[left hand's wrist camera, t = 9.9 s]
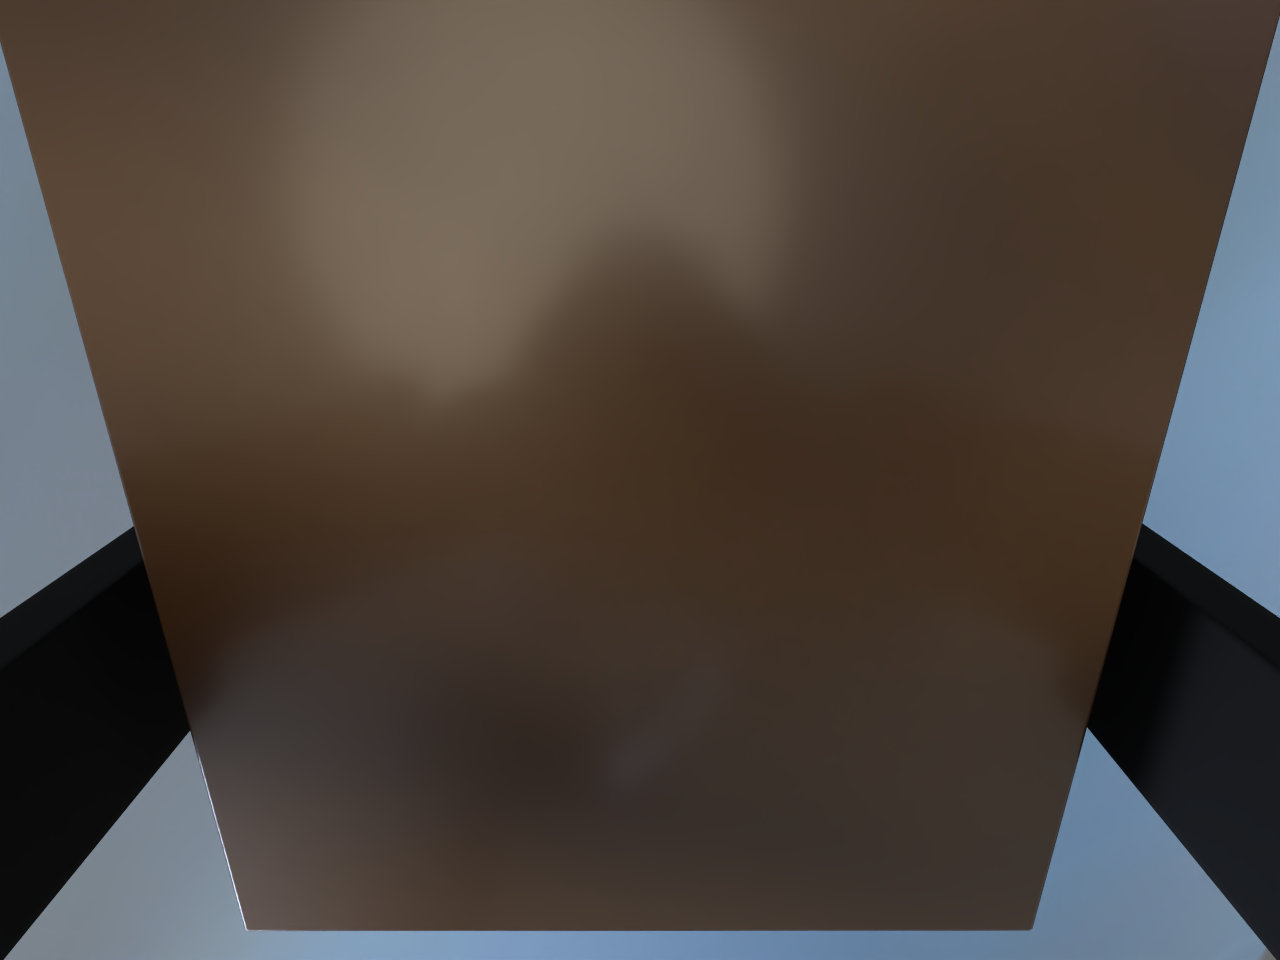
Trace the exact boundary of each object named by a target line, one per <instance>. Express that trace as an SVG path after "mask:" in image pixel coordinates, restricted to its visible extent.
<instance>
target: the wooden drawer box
mask: <svg viewBox="0 0 1280 960" xmlns="http://www.w3.org/2000/svg"><path fill="white" fill-rule="evenodd" d="M1279 16H1280V0H0V43H1V46H2V50H3V53H4V57H5V61H6V64H7V68H8V72H9V75H10V79H11V82H12V86H13V90H14V93H15V97H16V101H17V104H18V108H19V111H20V115H21V119H22V122H23V126H24V129H25V133H26V137H27V140H28V144H29V148H30V151H31V155H32V158H33V162H34V166H35V169H36V173H37V177H38V180H39V184H40V187H41V191H42V195H43V198H44V202H45V206H46V209H47V213H48V216H49V220H50V224H51V227H52V231H53V235H54V238H55V242H56V245H57V249H58V253H59V256H60V260H61V264H62V267H63V271H64V274H65V278H66V282H67V285H68V289H69V293H70V296H71V300H72V303H73V307H74V311H75V314H76V318H77V322H78V325H79V329H80V332H81V336H82V340H83V343H84V347H85V351H86V354H87V358H88V361H89V365H90V369H91V372H92V376H93V380H94V383H95V387H96V390H97V394H98V398H99V401H100V405H101V409H102V412H103V416H104V419H105V423H106V427H107V430H108V434H109V437H110V441H111V445H112V448H113V452H114V456H115V459H116V463H117V466H118V470H119V474H120V477H121V481H122V485H123V488H124V492H125V495H126V499H127V503H128V506H129V510H130V514H131V517H132V521H133V524H134V528H135V532H136V535H137V539H138V543H139V546H140V550H141V553H142V557H143V561H144V564H145V568H146V572H147V575H148V579H149V582H150V586H151V590H152V593H153V597H154V601H155V604H156V608H157V611H158V615H159V619H160V622H161V626H162V630H163V633H164V637H165V640H166V644H167V648H168V651H169V655H170V659H171V662H172V666H173V669H174V673H175V677H176V680H177V684H178V688H179V691H180V695H181V698H182V702H183V706H184V709H185V713H186V716H187V720H188V724H189V727H190V731H191V735H192V738H193V742H194V745H195V749H196V753H197V756H198V760H199V764H200V767H201V771H202V774H203V778H204V782H205V785H206V789H207V793H208V796H209V800H210V803H211V807H212V811H213V814H214V818H215V822H216V825H217V829H218V832H219V836H220V840H221V843H222V847H223V851H224V854H225V858H226V861H227V865H228V869H229V872H230V876H231V880H232V883H233V887H234V890H235V894H236V898H237V901H238V905H239V909H240V912H241V916H242V919H243V923H244V927H245V929H246V930H248V931H1000V930H1031V929H1032V928H1033V924H1034V920H1035V917H1036V913H1037V909H1038V906H1039V902H1040V898H1041V895H1042V891H1043V887H1044V883H1045V880H1046V876H1047V872H1048V869H1049V865H1050V861H1051V858H1052V854H1053V850H1054V847H1055V843H1056V839H1057V836H1058V832H1059V828H1060V824H1061V821H1062V817H1063V813H1064V810H1065V806H1066V802H1067V799H1068V795H1069V791H1070V788H1071V784H1072V780H1073V776H1074V773H1075V769H1076V765H1077V762H1078V758H1079V754H1080V751H1081V747H1082V743H1083V740H1084V736H1085V732H1086V729H1087V725H1088V721H1089V717H1090V714H1091V710H1092V706H1093V703H1094V699H1095V695H1096V692H1097V688H1098V684H1099V681H1100V677H1101V673H1102V669H1103V666H1104V662H1105V658H1106V655H1107V651H1108V647H1109V644H1110V640H1111V636H1112V633H1113V629H1114V625H1115V622H1116V618H1117V614H1118V610H1119V607H1120V603H1121V599H1122V596H1123V592H1124V588H1125V585H1126V581H1127V577H1128V574H1129V570H1130V566H1131V562H1132V559H1133V555H1134V551H1135V548H1136V544H1137V540H1138V537H1139V533H1140V529H1141V526H1142V522H1143V518H1144V515H1145V511H1146V507H1147V503H1148V500H1149V496H1150V492H1151V489H1152V485H1153V481H1154V478H1155V474H1156V470H1157V467H1158V463H1159V459H1160V455H1161V452H1162V448H1163V444H1164V441H1165V437H1166V433H1167V430H1168V426H1169V422H1170V419H1171V415H1172V411H1173V408H1174V404H1175V400H1176V396H1177V393H1178V389H1179V385H1180V382H1181V378H1182V374H1183V371H1184V367H1185V363H1186V360H1187V356H1188V352H1189V348H1190V345H1191V341H1192V337H1193V334H1194V330H1195V326H1196V323H1197V319H1198V315H1199V312H1200V308H1201V304H1202V301H1203V297H1204V293H1205V289H1206V286H1207V282H1208V278H1209V275H1210V271H1211V267H1212V264H1213V260H1214V256H1215V253H1216V249H1217V245H1218V241H1219V238H1220V234H1221V230H1222V227H1223V223H1224V219H1225V216H1226V212H1227V208H1228V205H1229V201H1230V197H1231V194H1232V190H1233V186H1234V182H1235V179H1236V175H1237V171H1238V168H1239V164H1240V160H1241V157H1242V153H1243V149H1244V146H1245V142H1246V138H1247V134H1248V131H1249V127H1250V123H1251V120H1252V116H1253V112H1254V109H1255V105H1256V101H1257V98H1258V94H1259V90H1260V87H1261V83H1262V79H1263V75H1264V72H1265V68H1266V64H1267V61H1268V57H1269V53H1270V50H1271V46H1272V42H1273V39H1274V35H1275V31H1276V27H1277V24H1278V20H1279Z"/></svg>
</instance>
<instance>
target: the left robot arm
mask: <svg viewBox="0 0 1280 960" xmlns="http://www.w3.org/2000/svg"><path fill="white" fill-rule="evenodd" d="M1087 728H1088V729H1089V730H1090V731H1091V732H1092V734H1093V735H1094V736H1095V737H1096V739H1097V740H1098V741H1099V742H1100V744H1101V745H1102V746H1103V747H1104V748H1105V750H1106V751H1107V752H1108V753H1109V755H1110V756H1111V757H1112V758H1113V759H1114V761H1115V762H1116V763H1117V764H1118V766H1119V767H1120V768H1121V769H1122V771H1123V772H1124V773H1125V774H1126V775H1127V777H1128V778H1129V779H1130V780H1131V782H1132V783H1133V784H1134V785H1135V786H1136V788H1137V789H1138V790H1139V791H1140V793H1141V794H1142V795H1143V796H1144V798H1145V799H1146V800H1147V801H1148V802H1149V804H1150V805H1151V806H1152V807H1153V809H1154V810H1155V811H1156V812H1157V814H1158V815H1159V816H1160V817H1161V818H1162V820H1163V821H1164V822H1165V823H1166V825H1167V826H1168V827H1169V828H1170V829H1171V831H1172V832H1173V833H1174V834H1175V836H1176V837H1177V838H1178V839H1179V841H1180V842H1181V843H1182V844H1183V845H1184V847H1185V848H1186V849H1187V850H1188V852H1189V853H1190V854H1191V855H1192V857H1193V858H1194V859H1195V860H1196V861H1197V863H1198V864H1199V865H1200V866H1201V868H1202V869H1203V870H1204V871H1205V872H1206V874H1207V875H1208V876H1209V877H1210V879H1211V880H1212V881H1213V882H1214V884H1215V885H1216V886H1217V887H1218V888H1219V890H1220V891H1221V892H1222V893H1223V895H1224V896H1225V897H1226V898H1227V900H1228V901H1229V902H1230V903H1231V904H1232V906H1233V907H1234V908H1235V909H1236V911H1237V912H1238V913H1239V914H1240V915H1241V917H1242V918H1243V919H1244V920H1245V922H1246V923H1247V924H1248V925H1249V927H1250V928H1251V929H1252V930H1253V931H1254V933H1255V934H1256V935H1257V936H1258V938H1259V939H1260V940H1261V941H1262V942H1263V944H1264V945H1265V946H1266V947H1267V949H1268V950H1269V951H1270V952H1271V954H1272V955H1273V956H1274V957H1275V958H1276V960H1280V618H1279V617H1277V616H1276V615H1274V614H1273V613H1272V612H1270V611H1269V610H1267V609H1266V608H1264V607H1263V606H1261V605H1260V604H1258V603H1257V602H1256V601H1254V600H1253V599H1251V598H1250V597H1248V596H1247V595H1245V594H1244V593H1243V592H1241V591H1240V590H1238V589H1237V588H1235V587H1234V586H1232V585H1231V584H1229V583H1228V582H1227V581H1225V580H1224V579H1222V578H1221V577H1219V576H1218V575H1216V574H1215V573H1213V572H1212V571H1211V570H1209V569H1208V568H1206V567H1205V566H1203V565H1202V564H1200V563H1199V562H1197V561H1196V560H1195V559H1193V558H1192V557H1190V556H1189V555H1187V554H1186V553H1184V552H1183V551H1181V550H1180V549H1179V548H1177V547H1176V546H1174V545H1173V544H1171V543H1170V542H1168V541H1167V540H1165V539H1164V538H1163V537H1161V536H1160V535H1158V534H1157V533H1155V532H1154V531H1152V530H1151V529H1150V528H1148V527H1147V526H1145V525H1144V524H1142V526H1141V529H1140V533H1139V537H1138V540H1137V544H1136V548H1135V551H1134V555H1133V559H1132V562H1131V566H1130V570H1129V574H1128V577H1127V581H1126V585H1125V588H1124V592H1123V596H1122V599H1121V603H1120V607H1119V610H1118V614H1117V618H1116V622H1115V625H1114V629H1113V633H1112V636H1111V640H1110V644H1109V647H1108V651H1107V655H1106V658H1105V662H1104V666H1103V669H1102V673H1101V677H1100V681H1099V684H1098V688H1097V692H1096V695H1095V699H1094V703H1093V706H1092V710H1091V714H1090V717H1089V721H1088V725H1087ZM189 731H190V727H189V724H188V720H187V716H186V713H185V709H184V706H183V702H182V698H181V695H180V691H179V688H178V684H177V680H176V677H175V673H174V669H173V666H172V662H171V659H170V655H169V651H168V648H167V644H166V640H165V637H164V633H163V630H162V626H161V622H160V619H159V615H158V611H157V608H156V604H155V601H154V597H153V593H152V590H151V586H150V582H149V579H148V575H147V572H146V568H145V564H144V561H143V557H142V553H141V550H140V546H139V543H138V539H137V535H136V532H135V528H134V526H133V527H132V528H130V529H129V530H128V531H126V532H125V533H123V534H122V535H120V536H119V537H117V538H116V539H114V540H113V541H112V542H110V543H109V544H107V545H106V546H104V547H103V548H101V549H100V550H99V551H97V552H96V553H94V554H93V555H91V556H90V557H88V558H87V559H85V560H84V561H83V562H81V563H80V564H78V565H77V566H75V567H74V568H72V569H71V570H69V571H68V572H67V573H65V574H64V575H62V576H61V577H59V578H58V579H56V580H55V581H53V582H52V583H51V584H49V585H48V586H46V587H45V588H43V589H42V590H40V591H39V592H37V593H36V594H35V595H33V596H32V597H30V598H29V599H27V600H26V601H24V602H23V603H21V604H20V605H19V606H17V607H16V608H14V609H13V610H11V611H10V612H8V613H7V614H6V615H4V616H3V617H1V618H0V960H4V958H5V957H6V956H7V955H8V954H9V952H10V951H11V950H12V949H13V947H14V946H15V945H16V944H17V942H18V941H19V940H20V939H21V938H22V936H23V935H24V934H25V933H26V931H27V930H28V929H29V928H30V927H31V925H32V924H33V923H34V922H35V920H36V919H37V918H38V917H39V915H40V914H41V913H42V912H43V911H44V909H45V908H46V907H47V906H48V904H49V903H50V902H51V901H52V899H53V898H54V897H55V896H56V895H57V893H58V892H59V891H60V890H61V888H62V887H63V886H64V885H65V884H66V882H67V881H68V880H69V879H70V877H71V876H72V875H73V874H74V872H75V871H76V870H77V869H78V868H79V866H80V865H81V864H82V863H83V861H84V860H85V859H86V858H87V856H88V855H89V854H90V853H91V852H92V850H93V849H94V848H95V847H96V845H97V844H98V843H99V842H100V841H101V839H102V838H103V837H104V836H105V834H106V833H107V832H108V831H109V829H110V828H111V827H112V826H113V825H114V823H115V822H116V821H117V820H118V818H119V817H120V816H121V815H122V813H123V812H124V811H125V810H126V809H127V807H128V806H129V805H130V804H131V802H132V801H133V800H134V799H135V798H136V796H137V795H138V794H139V793H140V791H141V790H142V789H143V788H144V786H145V785H146V784H147V783H148V782H149V780H150V779H151V778H152V777H153V775H154V774H155V773H156V772H157V771H158V769H159V768H160V767H161V766H162V764H163V763H164V762H165V761H166V759H167V758H168V757H169V756H170V755H171V753H172V752H173V751H174V750H175V748H176V747H177V746H178V745H179V743H180V742H181V741H182V740H183V739H184V737H185V736H186V735H187V734H188V732H189Z"/></svg>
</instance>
